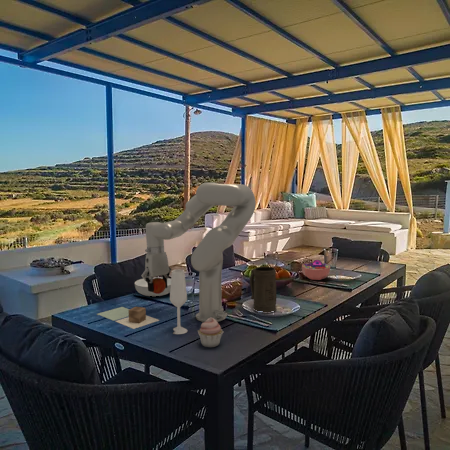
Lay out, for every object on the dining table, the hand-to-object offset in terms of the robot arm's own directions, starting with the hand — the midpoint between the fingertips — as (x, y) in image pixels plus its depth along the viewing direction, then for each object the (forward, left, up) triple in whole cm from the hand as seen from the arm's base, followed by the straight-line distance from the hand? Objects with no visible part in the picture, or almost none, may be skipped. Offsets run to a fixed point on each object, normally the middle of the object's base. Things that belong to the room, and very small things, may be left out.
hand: (157, 289), depth 175 cm
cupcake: (-42, +10, -11) cm, 45 cm away
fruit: (0, 0, -2) cm, 2 cm away
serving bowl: (+23, -17, -11) cm, 31 cm away
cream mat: (-4, +14, -10) cm, 18 cm away
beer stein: (-32, -34, -11) cm, 48 cm away
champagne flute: (-24, +9, -11) cm, 28 cm away
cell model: (-24, -101, -11) cm, 104 cm away
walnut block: (-4, +14, -10) cm, 18 cm away
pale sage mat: (+10, +14, -10) cm, 20 cm away
